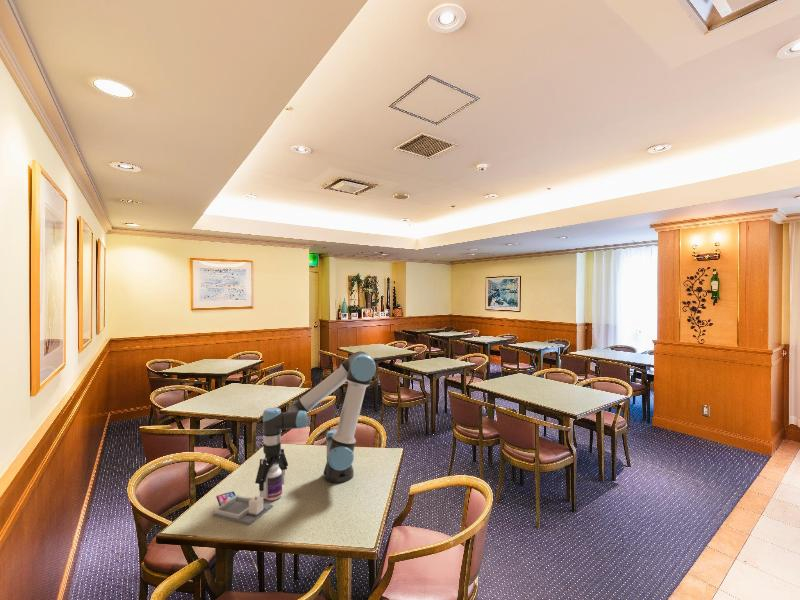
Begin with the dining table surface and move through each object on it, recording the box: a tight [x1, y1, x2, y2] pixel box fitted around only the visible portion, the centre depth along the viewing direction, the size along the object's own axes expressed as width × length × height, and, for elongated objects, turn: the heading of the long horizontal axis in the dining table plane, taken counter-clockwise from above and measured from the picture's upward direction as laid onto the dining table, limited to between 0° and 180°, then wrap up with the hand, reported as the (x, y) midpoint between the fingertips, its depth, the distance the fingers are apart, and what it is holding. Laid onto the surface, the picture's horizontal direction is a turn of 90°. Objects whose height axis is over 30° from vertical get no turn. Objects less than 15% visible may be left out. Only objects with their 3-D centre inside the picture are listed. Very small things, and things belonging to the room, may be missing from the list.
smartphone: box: [216, 491, 237, 507], centre depth 173 cm, size 8×1×15 cm
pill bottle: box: [263, 463, 283, 501], centre depth 175 cm, size 8×8×14 cm
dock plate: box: [212, 495, 274, 526], centre depth 163 cm, size 19×14×7 cm
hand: (272, 490), depth 175 cm, fingers open, 12 cm apart
